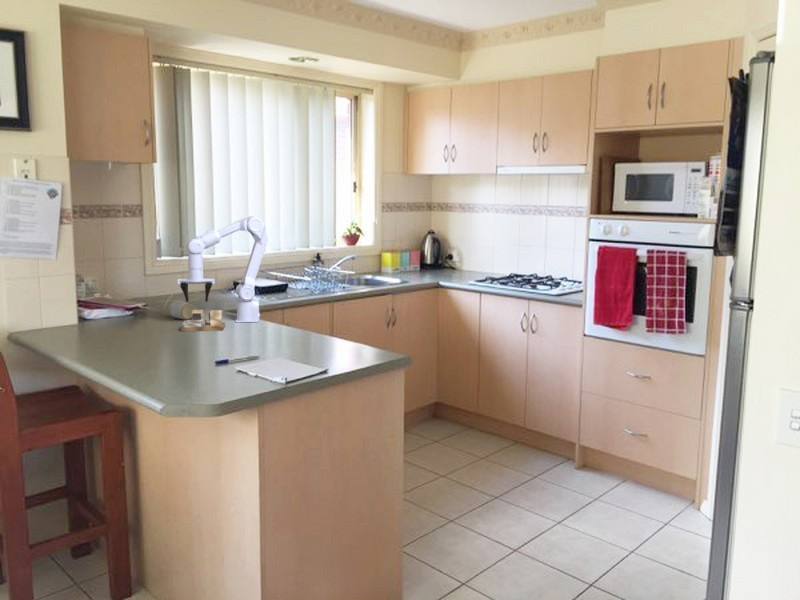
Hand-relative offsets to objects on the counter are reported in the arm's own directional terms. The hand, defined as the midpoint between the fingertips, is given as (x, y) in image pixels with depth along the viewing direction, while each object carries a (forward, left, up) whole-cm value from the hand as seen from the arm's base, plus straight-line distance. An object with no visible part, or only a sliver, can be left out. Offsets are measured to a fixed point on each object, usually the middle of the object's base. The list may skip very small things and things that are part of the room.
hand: (196, 301), depth 280 cm
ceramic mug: (+7, -12, -10) cm, 17 cm away
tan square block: (0, 0, -9) cm, 9 cm away
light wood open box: (-4, +10, -9) cm, 14 cm away
